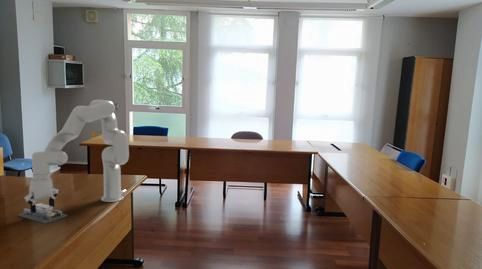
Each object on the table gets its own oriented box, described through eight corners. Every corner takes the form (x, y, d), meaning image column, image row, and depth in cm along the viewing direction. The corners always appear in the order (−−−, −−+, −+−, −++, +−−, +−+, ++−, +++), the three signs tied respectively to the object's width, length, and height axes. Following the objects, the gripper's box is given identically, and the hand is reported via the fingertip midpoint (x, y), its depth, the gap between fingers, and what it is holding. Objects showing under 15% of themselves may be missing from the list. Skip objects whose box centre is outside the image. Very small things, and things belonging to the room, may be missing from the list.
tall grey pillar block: (40, 212, 178) (40, 203, 177) (53, 216, 173) (52, 206, 173) (33, 214, 174) (33, 204, 174) (46, 218, 170) (46, 208, 169)
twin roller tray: (37, 209, 182) (37, 204, 181) (62, 216, 173) (62, 211, 173) (23, 213, 175) (23, 208, 175) (48, 220, 167) (48, 215, 167)
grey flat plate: (40, 209, 184) (40, 207, 184) (67, 216, 175) (67, 215, 175) (18, 215, 174) (18, 214, 174) (45, 223, 165) (45, 222, 164)
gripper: (52, 172, 181) (53, 203, 183) (19, 178, 166) (20, 213, 168) (62, 174, 178) (63, 206, 180) (29, 181, 163) (30, 216, 165)
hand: (42, 209), depth 174 cm, fingers open, 9 cm apart
